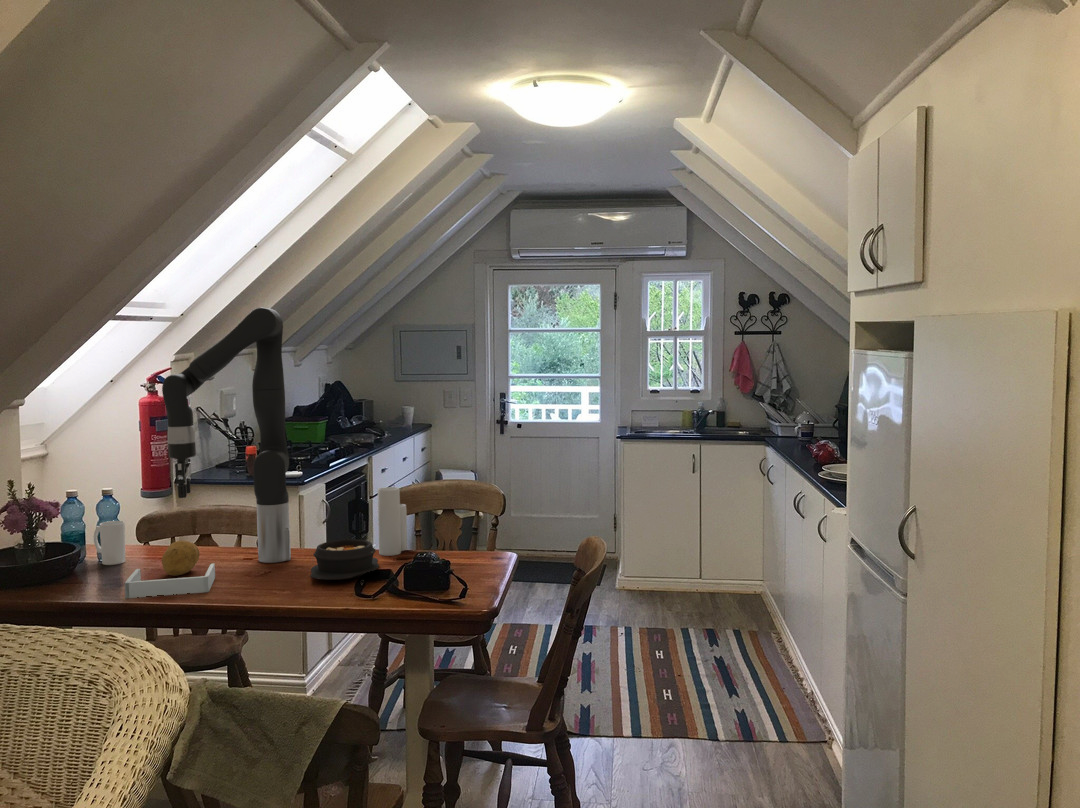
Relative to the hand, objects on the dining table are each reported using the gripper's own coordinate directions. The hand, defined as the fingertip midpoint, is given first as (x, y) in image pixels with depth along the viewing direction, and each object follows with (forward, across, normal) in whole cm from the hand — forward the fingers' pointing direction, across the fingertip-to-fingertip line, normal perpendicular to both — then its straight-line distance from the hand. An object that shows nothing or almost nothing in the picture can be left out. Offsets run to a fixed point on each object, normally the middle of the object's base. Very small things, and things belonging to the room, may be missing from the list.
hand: (184, 495), depth 258 cm
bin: (+20, -30, 0) cm, 36 cm away
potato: (+20, -15, 0) cm, 25 cm away
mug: (+20, +7, +23) cm, 31 cm away
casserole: (+21, -30, -45) cm, 58 cm away
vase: (+21, -6, -60) cm, 64 cm away
